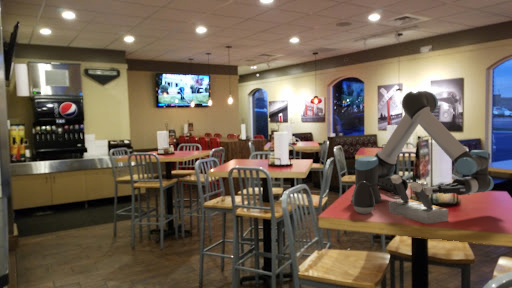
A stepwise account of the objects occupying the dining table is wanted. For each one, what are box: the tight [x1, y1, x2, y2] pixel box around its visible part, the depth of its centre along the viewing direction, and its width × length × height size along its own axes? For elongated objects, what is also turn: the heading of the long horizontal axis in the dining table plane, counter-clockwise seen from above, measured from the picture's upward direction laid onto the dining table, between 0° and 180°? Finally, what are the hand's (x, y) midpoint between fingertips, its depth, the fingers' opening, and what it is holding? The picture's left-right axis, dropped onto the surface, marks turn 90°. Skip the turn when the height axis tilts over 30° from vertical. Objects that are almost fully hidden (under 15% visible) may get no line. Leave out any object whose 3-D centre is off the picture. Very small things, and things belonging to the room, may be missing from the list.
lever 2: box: [409, 181, 434, 209], centre depth 167 cm, size 4×3×14 cm
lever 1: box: [390, 174, 410, 203], centre depth 180 cm, size 4×3×14 cm
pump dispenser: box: [352, 181, 376, 215], centre depth 184 cm, size 10×10×15 cm
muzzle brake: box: [378, 174, 409, 196], centre depth 233 cm, size 10×28×10 cm, turn 8°
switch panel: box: [388, 198, 449, 225], centre depth 176 cm, size 23×12×5 cm, turn 22°
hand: (425, 191), depth 167 cm, fingers closed
